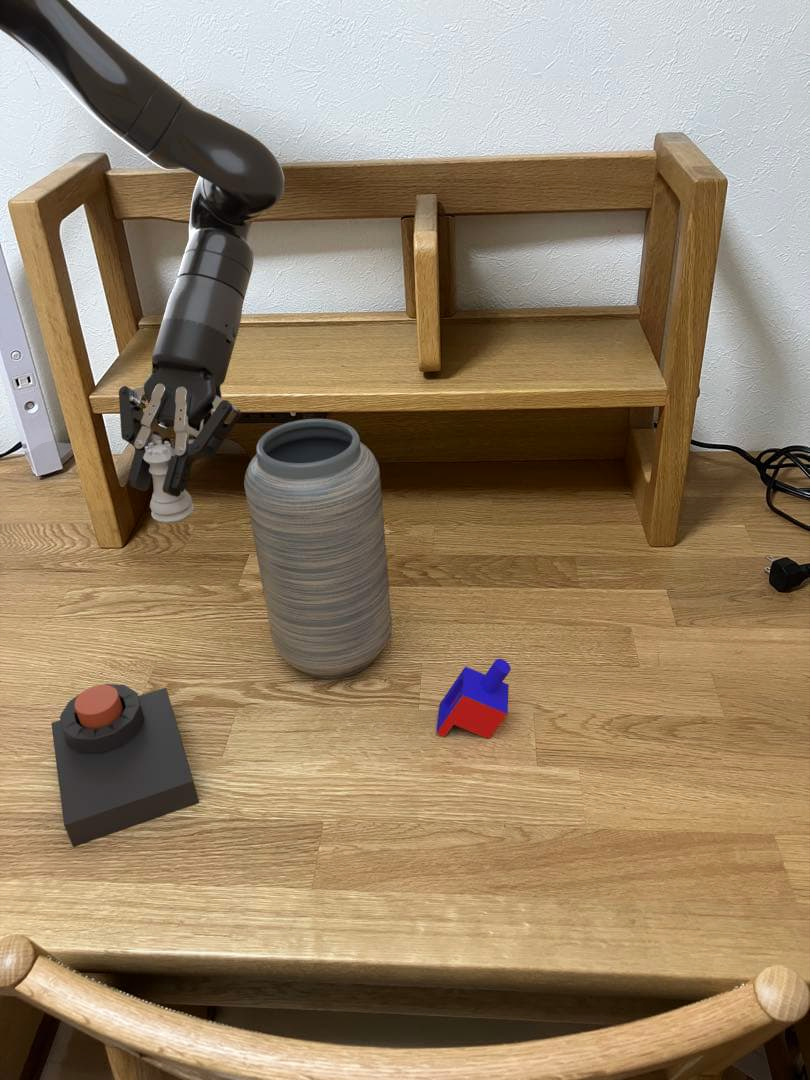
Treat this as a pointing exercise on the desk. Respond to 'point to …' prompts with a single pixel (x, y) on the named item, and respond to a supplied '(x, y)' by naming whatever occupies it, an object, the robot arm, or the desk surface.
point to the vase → (320, 546)
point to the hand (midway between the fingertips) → (154, 490)
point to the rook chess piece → (161, 503)
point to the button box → (121, 767)
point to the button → (98, 706)
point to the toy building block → (476, 701)
